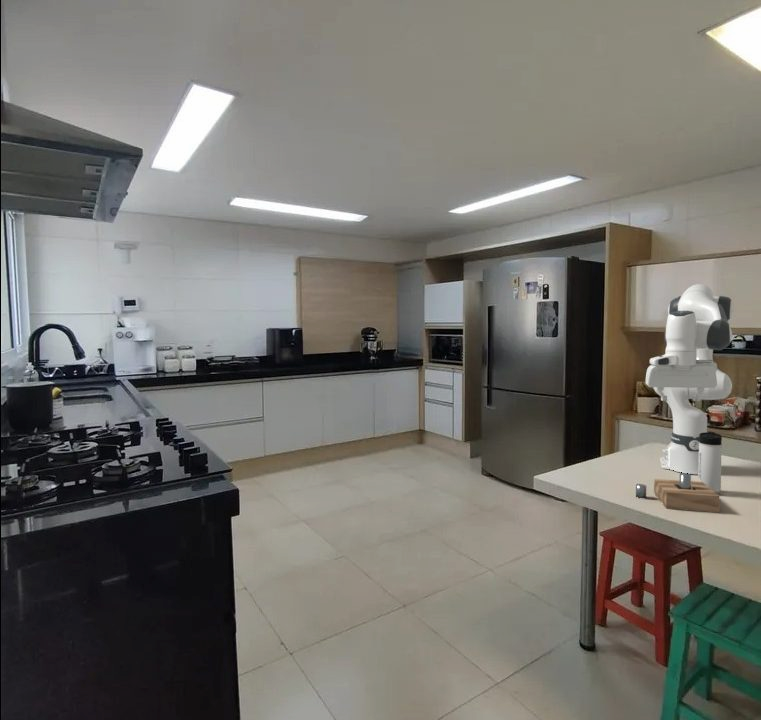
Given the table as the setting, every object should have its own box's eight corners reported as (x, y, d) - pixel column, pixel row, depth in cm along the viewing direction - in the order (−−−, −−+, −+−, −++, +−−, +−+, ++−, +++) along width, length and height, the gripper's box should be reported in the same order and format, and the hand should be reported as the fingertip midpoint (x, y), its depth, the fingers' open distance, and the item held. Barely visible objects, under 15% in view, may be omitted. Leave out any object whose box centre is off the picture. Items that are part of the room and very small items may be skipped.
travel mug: (721, 491, 159) (722, 432, 158) (719, 496, 154) (721, 436, 153) (699, 487, 163) (700, 430, 162) (696, 492, 158) (698, 433, 157)
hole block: (654, 493, 158) (654, 478, 158) (702, 496, 154) (702, 481, 154) (666, 508, 145) (666, 492, 145) (719, 512, 141) (719, 496, 141)
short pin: (634, 495, 157) (635, 483, 157) (645, 496, 156) (645, 484, 156) (637, 498, 154) (637, 486, 154) (647, 499, 153) (647, 487, 153)
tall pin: (677, 500, 152) (678, 472, 151) (688, 501, 151) (689, 473, 150) (680, 503, 149) (681, 475, 148) (691, 504, 148) (692, 476, 147)
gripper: (713, 359, 156) (712, 400, 157) (644, 359, 162) (644, 399, 163) (720, 360, 150) (720, 403, 151) (649, 360, 156) (648, 401, 157)
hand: (680, 401), depth 157 cm, fingers open, 8 cm apart
